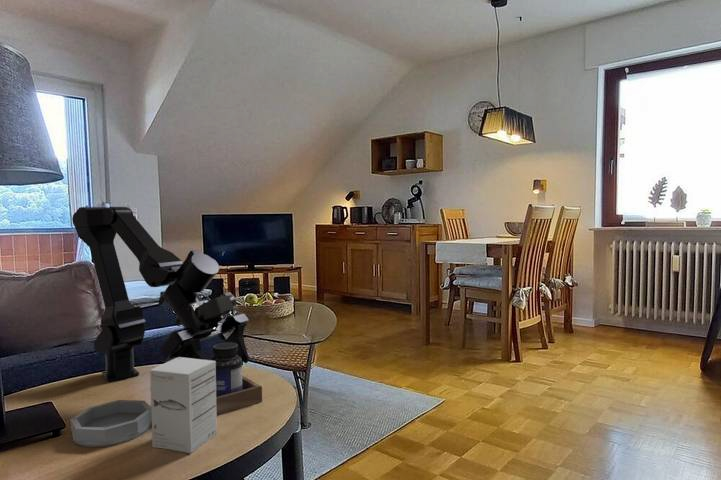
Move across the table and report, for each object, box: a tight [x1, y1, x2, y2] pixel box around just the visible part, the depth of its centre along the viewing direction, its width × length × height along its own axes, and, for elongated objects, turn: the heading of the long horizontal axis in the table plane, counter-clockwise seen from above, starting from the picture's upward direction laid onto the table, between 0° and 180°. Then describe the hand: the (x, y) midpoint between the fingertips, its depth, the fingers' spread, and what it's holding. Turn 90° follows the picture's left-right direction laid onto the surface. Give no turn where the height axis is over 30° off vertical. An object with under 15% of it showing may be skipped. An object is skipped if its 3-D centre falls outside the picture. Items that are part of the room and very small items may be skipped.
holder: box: [216, 375, 263, 416], centre depth 93 cm, size 10×10×3 cm
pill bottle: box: [210, 341, 243, 397], centre depth 93 cm, size 6×6×11 cm
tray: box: [70, 399, 152, 448], centre depth 81 cm, size 12×12×3 cm
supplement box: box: [149, 357, 218, 454], centre depth 77 cm, size 7×7×13 cm
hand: (231, 368), depth 92 cm, fingers open, 9 cm apart
